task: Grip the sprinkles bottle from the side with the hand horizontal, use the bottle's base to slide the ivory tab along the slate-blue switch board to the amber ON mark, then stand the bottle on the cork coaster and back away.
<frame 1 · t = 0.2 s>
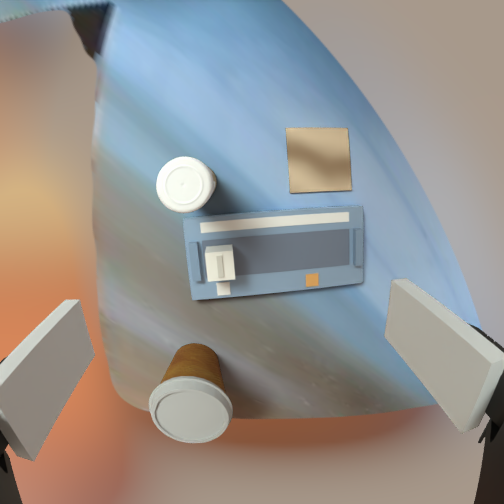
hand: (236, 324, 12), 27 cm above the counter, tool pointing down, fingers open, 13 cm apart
switch board: (277, 250, 40), on the counter
disposable coffee cup: (196, 361, 43), on the counter
cork coaster: (319, 159, 38), on the counter
ivory tab: (220, 262, 36), point 4 cm above the counter, slide at 0.0 cm
sprinkles bottle: (197, 183, 37), on the counter
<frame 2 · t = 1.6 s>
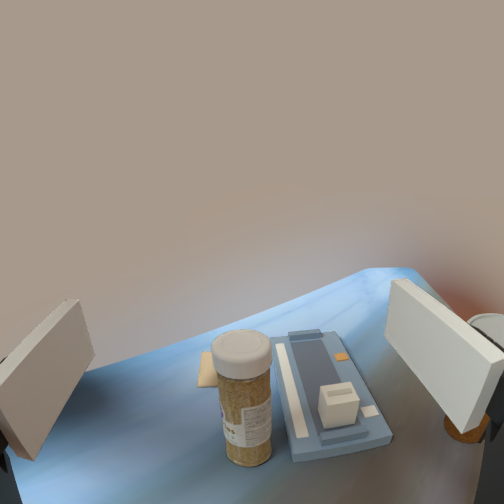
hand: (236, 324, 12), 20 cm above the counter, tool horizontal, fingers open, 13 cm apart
switch board: (319, 388, 36), on the counter
disposable coffee cup: (467, 425, 25), on the counter
cork coaster: (229, 368, 41), on the counter
ivory tab: (337, 404, 28), point 4 cm above the counter, slide at 0.0 cm
sprinkles bottle: (249, 453, 27), on the counter
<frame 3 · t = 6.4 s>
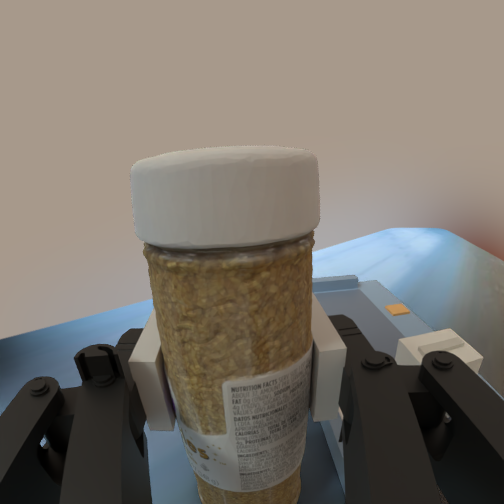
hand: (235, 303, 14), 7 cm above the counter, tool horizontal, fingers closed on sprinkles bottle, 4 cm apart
switch board: (372, 360, 20), on the counter
ivory tab: (433, 376, 12), point 4 cm above the counter, slide at 0.0 cm
sprinkles bottle: (251, 492, 11), on the counter, touching gripper
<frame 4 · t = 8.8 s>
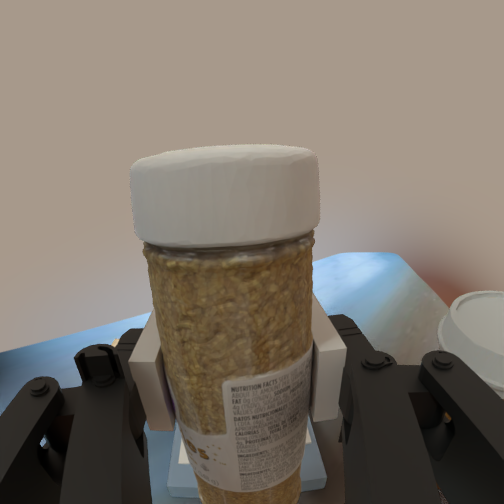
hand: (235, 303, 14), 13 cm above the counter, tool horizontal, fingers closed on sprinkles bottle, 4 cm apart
switch board: (241, 395, 26), on the counter
disposable coffee cup: (453, 461, 16), on the counter
sprinkles bottle: (251, 492, 11), point 6 cm above the counter, touching gripper
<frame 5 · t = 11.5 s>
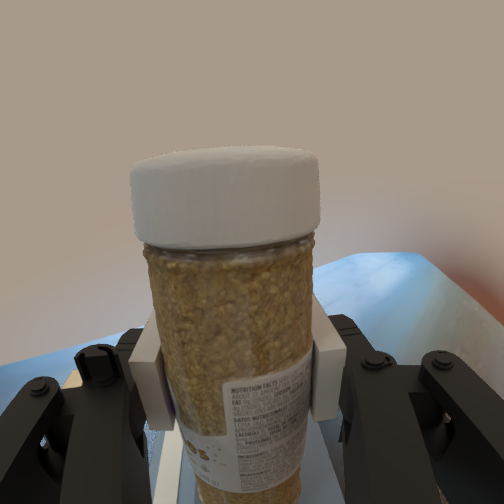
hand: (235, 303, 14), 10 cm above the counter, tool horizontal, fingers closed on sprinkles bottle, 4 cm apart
switch board: (239, 467, 16), on the counter
sprinkles bottle: (251, 492, 11), point 3 cm above the counter, touching gripper, ivory tab
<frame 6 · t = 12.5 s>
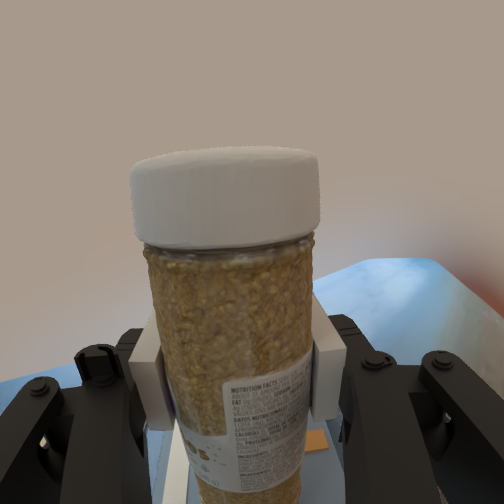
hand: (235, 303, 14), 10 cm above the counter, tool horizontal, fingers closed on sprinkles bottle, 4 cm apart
sprinkles bottle: (251, 492, 11), point 3 cm above the counter, touching gripper
when the fingers open (8 cm above the counter, at t = 16.8 s): sprinkles bottle stays where it is, resting on cork coaster.
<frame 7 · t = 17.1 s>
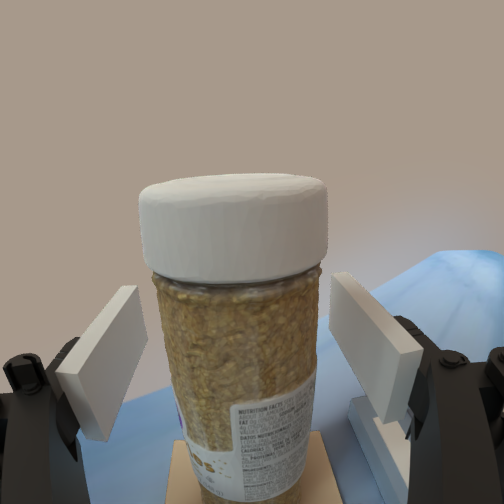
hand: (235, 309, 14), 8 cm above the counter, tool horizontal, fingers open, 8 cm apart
cork coaster: (251, 499, 11), on the counter
sprinkles bottle: (252, 499, 11), resting on cork coaster
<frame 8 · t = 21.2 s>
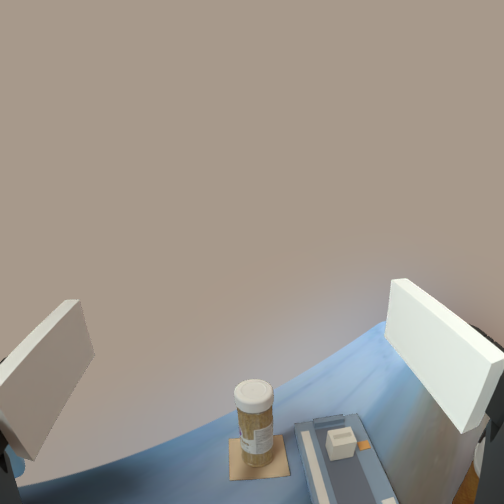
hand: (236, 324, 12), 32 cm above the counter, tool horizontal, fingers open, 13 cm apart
switch board: (344, 477, 33), on the counter
cork coaster: (257, 457, 38), on the counter
ivory tab: (340, 443, 35), point 4 cm above the counter, slide at 10.8 cm
sprinkles bottle: (258, 457, 38), resting on cork coaster
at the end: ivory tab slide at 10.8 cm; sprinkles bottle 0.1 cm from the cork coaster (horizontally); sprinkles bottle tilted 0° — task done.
